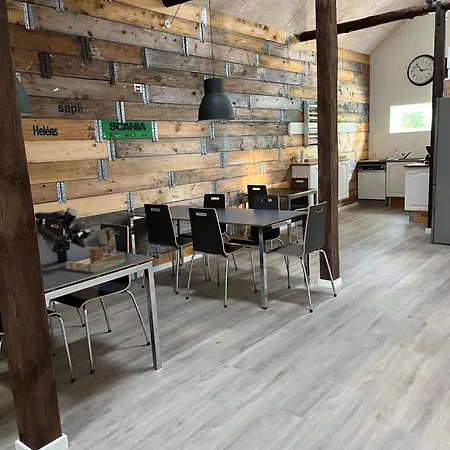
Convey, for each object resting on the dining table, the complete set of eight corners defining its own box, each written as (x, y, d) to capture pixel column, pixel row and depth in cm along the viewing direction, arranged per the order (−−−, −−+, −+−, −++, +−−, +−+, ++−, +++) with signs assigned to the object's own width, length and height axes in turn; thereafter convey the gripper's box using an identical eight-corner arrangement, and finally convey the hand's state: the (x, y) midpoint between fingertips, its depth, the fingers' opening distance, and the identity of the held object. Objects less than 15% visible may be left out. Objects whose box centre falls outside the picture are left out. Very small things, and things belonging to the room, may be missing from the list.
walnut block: (90, 262, 256) (89, 248, 254) (97, 260, 260) (95, 246, 259) (96, 263, 253) (95, 249, 252) (103, 261, 257) (102, 247, 256)
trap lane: (66, 268, 253) (65, 259, 252) (97, 258, 273) (96, 250, 272) (95, 272, 242) (94, 262, 241) (125, 261, 261) (124, 252, 260)
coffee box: (110, 255, 279) (107, 230, 277) (100, 255, 281) (97, 230, 278) (116, 252, 288) (114, 227, 285) (107, 252, 290) (104, 227, 287)
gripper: (61, 220, 252) (77, 241, 248) (86, 215, 268) (102, 234, 264) (53, 234, 257) (69, 254, 253) (79, 228, 273) (94, 247, 269)
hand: (84, 247), depth 260 cm, fingers closed
